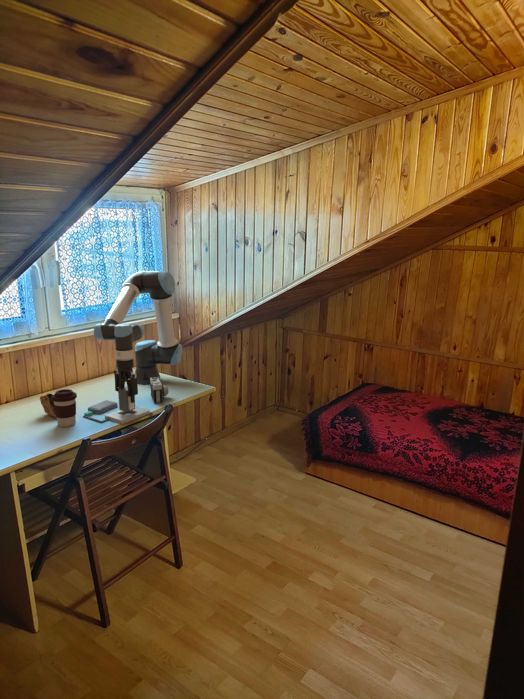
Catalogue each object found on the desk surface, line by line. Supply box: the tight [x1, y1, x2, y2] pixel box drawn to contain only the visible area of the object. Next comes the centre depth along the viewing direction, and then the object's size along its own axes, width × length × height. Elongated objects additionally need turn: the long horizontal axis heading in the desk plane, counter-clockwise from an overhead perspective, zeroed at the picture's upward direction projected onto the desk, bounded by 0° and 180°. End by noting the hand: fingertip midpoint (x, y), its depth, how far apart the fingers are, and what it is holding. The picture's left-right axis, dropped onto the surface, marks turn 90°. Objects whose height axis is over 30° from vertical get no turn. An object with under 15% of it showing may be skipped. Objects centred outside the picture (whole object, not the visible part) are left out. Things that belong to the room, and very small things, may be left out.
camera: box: [149, 377, 169, 404], centre depth 237 cm, size 14×8×10 cm, turn 20°
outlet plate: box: [104, 405, 151, 425], centre depth 214 cm, size 16×12×2 cm
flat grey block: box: [87, 399, 119, 415], centre depth 222 cm, size 12×7×3 cm, turn 154°
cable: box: [82, 411, 111, 424], centre depth 210 cm, size 5×13×1 cm, turn 57°
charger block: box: [117, 385, 136, 412], centre depth 212 cm, size 5×5×10 cm
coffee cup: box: [52, 388, 78, 428], centre depth 201 cm, size 10×10×15 cm
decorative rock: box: [39, 393, 57, 419], centre depth 212 cm, size 12×6×11 cm, turn 63°
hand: (127, 407), depth 213 cm, fingers closed on charger block, 5 cm apart
